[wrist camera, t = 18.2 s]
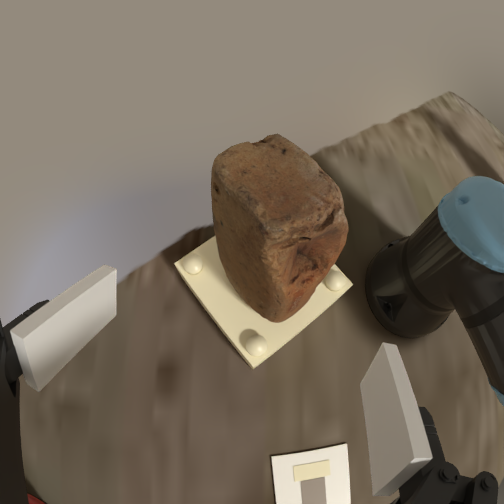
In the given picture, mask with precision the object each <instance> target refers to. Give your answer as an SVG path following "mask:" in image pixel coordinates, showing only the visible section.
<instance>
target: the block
mask: <svg viewBox="0 0 504 504" xmlns="http://www.w3.org/2000/svg"><path fill="white" fill-rule="evenodd" d="M211 196H212V212H213V222H214V231H215V236H216V243H217V248H218V253H219V258H220V261H221V263H222V266H223V268H224V270H225V273H226V276H227V278H228V280H229V281H230V283H231V284H232V286H233V287H234V289H235V290H236V292H237V293H238V294H239V296H240V297H241V298H242V299H243V300H244V301H245V303H246V304H247V305H249V306H250V307H251V308H252V309H253V310H254V311H255V312H257V313H258V314H260V316H261V317H263V318H265V319H267V320H269V321H270V322H274V323H280V322H283V321H285V320H287V319H288V318H290V317H292V316H293V315H294V314H296V313H297V312H298V311H299V310H300V309H301V308H302V307H303V306H304V305H305V304H306V303H307V302H308V301H309V299H310V298H311V296H312V294H313V293H314V292H315V290H316V287H317V286H318V285H319V284H320V283H321V282H322V280H323V279H324V278H325V277H326V275H327V274H328V272H329V271H330V268H331V267H332V266H333V265H334V264H335V262H336V260H337V258H338V256H339V255H340V253H341V251H342V249H343V247H344V246H345V244H346V240H347V233H348V231H349V229H348V222H347V219H346V216H345V214H344V202H343V198H342V194H341V191H340V189H339V187H338V186H337V184H336V183H335V182H334V181H333V179H332V178H331V177H330V176H329V175H328V174H326V173H325V172H324V171H323V170H322V169H321V168H320V166H319V165H318V164H317V162H316V161H314V160H313V159H312V158H311V157H310V156H309V155H308V154H307V153H305V152H304V151H303V150H301V149H300V148H299V147H298V146H296V145H295V144H294V143H292V142H290V141H289V140H287V139H286V138H284V137H282V136H281V135H279V134H274V135H269V136H267V137H266V138H264V139H263V140H260V141H259V142H256V143H250V142H244V143H240V144H237V145H234V146H231V147H230V148H228V149H227V150H225V151H224V152H222V153H221V154H219V155H218V156H217V157H216V158H215V160H214V163H213V167H212V178H211Z"/></svg>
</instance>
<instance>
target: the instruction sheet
mask: <svg viewBox="0 0 504 504" xmlns="http://www.w3.org/2000/svg"><path fill="white" fill-rule="evenodd" d="M271 458H272V467H273V477H274V487H275V496H276V504H351V500H350V480H349V464H348V451H347V443H345V444H341V445H336V446H332V447H327V448H322V449H317V450H311V451H305V452H299V453H293V454H286V455H278V456H271Z"/></svg>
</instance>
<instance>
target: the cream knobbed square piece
mask: <svg viewBox="0 0 504 504" xmlns="http://www.w3.org/2000/svg"><path fill="white" fill-rule="evenodd" d="M174 264H175V266H176V268H177V270H178V272H179V274H180V275H181V277H182V279H183V280H184V281H185V283H186V284H187V286H188V287H189V288H190V290H191V291H192V292H193V294H194V295H195V297H196V298H197V299H198V301H199V302H200V303H201V305H202V306H203V307H204V309H205V310H206V311H207V313H208V314H209V315H210V317H211V318H212V319H213V321H214V322H215V323H216V324H217V326H218V327H219V328H220V330H221V331H222V332H223V334H224V335H225V336H226V337H227V339H228V340H229V341H230V342H231V344H232V345H233V346H234V348H235V349H236V350H237V351H238V353H239V354H240V355H241V356H242V358H243V359H244V360H245V361H246V362H247V364H248V365H249V366H250V367H251V369H252V370H253V369H254V368H255V367H257V366H258V365H259V364H261V363H262V362H263V361H264V360H266V359H267V358H268V357H270V356H271V355H272V354H273V353H275V352H276V351H277V350H278V349H280V348H281V347H282V346H283V345H285V344H286V343H287V342H288V341H290V340H291V339H292V338H293V337H294V336H296V335H297V334H298V333H299V332H300V331H302V330H303V329H304V328H305V327H306V326H308V325H309V324H310V323H311V322H312V321H314V320H315V319H316V318H317V317H318V316H319V315H320V314H322V313H323V312H324V311H325V310H326V309H327V308H329V307H330V306H331V305H332V304H333V303H334V302H335V301H336V300H338V299H339V298H340V297H341V296H342V295H343V294H344V293H345V292H346V291H347V290H348V289H349V288H350V287H351V286H352V285H353V284H352V283H351V281H350V280H349V279H348V278H347V277H346V276H345V275H344V274H343V273H342V271H341V270H340V269H339V268H338V267H337V266H336V265H335V264H334V265H333V266H332V267H331V268H330V271H329V272H328V274H327V275H326V277H325V278H324V279H323V280H322V282H321V283H320V284H319V285H318V286H317V287H316V290H315V292H314V293H313V294H312V296H311V298H310V299H309V301H308V302H307V303H306V304H305V305H304V306H303V307H302V308H301V309H300V310H299V311H298V312H297V313H296V314H294V315H293V316H292V317H290V318H288V319H287V320H285V321H283V322H280V323H274V322H270V321H269V320H267V319H265V318H263V317H261V316H260V314H258V313H257V312H255V311H254V310H253V309H252V308H251V307H250V306H249V305H247V304H246V303H245V301H244V300H243V299H242V298H241V297H240V296H239V294H238V293H237V292H236V290H235V289H234V287H233V286H232V284H231V283H230V281H229V280H228V278H227V276H226V273H225V270H224V268H223V266H222V263H221V261H220V258H219V253H218V248H217V243H216V236H214V237H212V238H211V239H209V240H208V241H206V242H205V243H204V244H202V245H201V246H199V247H198V248H196V249H195V250H193V251H192V252H190V253H189V254H187V255H186V256H184V257H183V258H181V259H180V260H179V261H177V262H176V263H174Z"/></svg>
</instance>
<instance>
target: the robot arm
mask: <svg viewBox="0 0 504 504" xmlns="http://www.w3.org/2000/svg"><path fill="white" fill-rule="evenodd" d="M116 272H117V269H115V268H113V267H110V266H107V265H103V266H101V267H100V268H98V269H97V270H95V271H94V272H92V273H91V274H89V275H88V276H86V277H85V278H83V279H82V280H80V281H79V282H77V283H76V284H74V285H73V286H71V287H70V288H68V289H67V290H65V291H64V292H63V293H61V294H60V295H58V296H57V297H55V298H54V299H53V300H51V301H49V300H45V301H42V302H39V303H37V304H35V305H34V306H32V307H31V308H30V309H29V310H27V311H25V312H24V313H23V314H21V315H20V316H18V317H17V318H15V319H14V320H13V321H11V322H10V323H8V324H7V325H6V326H4V327H2V324H1V320H0V504H29V501H28V495H27V489H26V483H25V477H24V469H23V460H22V450H21V437H20V410H19V396H20V382H19V378H18V377H19V376H21V375H22V374H23V375H24V378H25V381H26V383H27V384H28V385H29V386H31V387H32V388H34V389H35V390H37V391H38V392H40V391H41V389H42V388H43V387H44V386H45V385H46V384H47V383H48V382H49V381H50V380H51V379H52V378H53V377H54V376H55V375H56V374H57V373H58V372H59V371H60V370H61V369H62V368H63V367H64V366H65V365H66V364H67V363H68V362H69V361H70V360H71V359H72V358H73V357H74V356H75V355H76V354H77V353H78V352H79V351H80V350H81V349H82V348H83V347H84V346H85V345H86V344H87V343H88V342H89V341H90V340H91V339H92V338H93V337H94V336H95V335H96V334H97V333H98V332H99V331H100V330H101V329H102V328H103V327H104V326H105V325H107V324H108V323H109V322H110V321H111V320H112V319H113V318H114V317H115V316H116ZM365 286H366V295H367V299H368V302H369V305H370V308H371V310H372V312H373V313H374V315H375V317H376V318H377V319H378V321H379V322H380V323H381V324H382V325H383V326H384V327H385V328H386V329H388V330H389V331H390V332H392V333H394V334H396V335H398V336H401V337H406V338H417V337H421V336H424V335H427V334H429V333H432V332H433V331H435V330H437V329H438V328H439V327H440V326H441V325H442V324H443V323H444V322H445V321H446V320H447V318H448V316H449V315H450V313H451V312H453V311H454V309H455V310H456V311H457V313H458V315H459V317H460V319H461V320H462V322H463V324H464V327H465V329H466V331H467V333H468V335H469V337H470V339H471V341H472V343H473V345H474V347H475V349H476V351H477V353H478V356H479V358H480V360H481V362H482V365H483V367H484V369H485V372H486V374H487V376H488V381H489V384H490V385H491V388H492V389H493V390H494V391H495V393H496V395H497V397H498V399H499V401H500V403H501V404H502V405H503V406H504V184H502V183H501V182H498V181H495V180H493V179H491V178H489V177H484V176H473V177H469V178H467V179H465V180H463V181H462V182H460V183H459V184H458V185H457V186H456V187H455V188H454V189H453V190H452V191H451V192H450V193H448V194H446V195H445V196H444V197H443V198H442V200H441V202H440V203H439V205H438V206H437V207H436V209H435V210H434V211H433V212H432V213H431V214H430V215H429V216H428V218H427V219H426V220H425V221H424V222H423V223H422V224H421V225H420V226H419V227H418V228H417V230H416V231H415V232H414V233H413V234H412V235H411V236H407V237H404V238H401V239H398V240H395V241H393V242H390V243H389V244H387V245H386V246H384V247H383V248H382V249H381V250H380V251H379V252H378V253H377V254H376V256H375V257H374V258H373V259H372V261H371V263H370V265H369V267H368V270H367V274H366V284H365ZM360 388H361V395H362V401H363V408H364V415H365V423H366V431H367V439H368V447H369V457H370V467H371V478H372V490H373V496H390V495H392V494H393V493H394V492H395V491H397V490H398V489H399V493H400V496H399V497H398V498H397V499H395V500H394V501H393V502H391V503H390V504H497V496H498V482H497V480H496V478H495V477H494V475H493V474H491V473H489V472H485V471H483V472H480V473H479V474H478V475H477V476H476V477H474V478H469V477H465V476H461V475H460V473H459V471H458V469H457V468H456V467H455V466H454V465H453V464H451V463H449V462H446V461H445V458H444V454H443V451H442V447H441V444H440V441H439V437H438V435H437V431H436V428H435V427H434V426H435V425H434V422H433V419H432V416H431V415H430V413H429V412H428V411H427V409H426V408H425V407H418V405H417V402H416V399H415V396H414V393H413V390H412V387H411V384H410V381H409V378H408V375H407V373H406V370H405V367H404V364H403V361H402V359H401V356H400V353H399V351H398V348H397V345H394V344H389V343H384V342H383V343H382V344H381V346H380V348H379V350H378V352H377V354H376V356H375V358H374V360H373V362H372V363H371V365H370V367H369V369H368V371H367V373H366V374H365V376H364V378H363V380H362V381H361V383H360Z"/></svg>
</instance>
